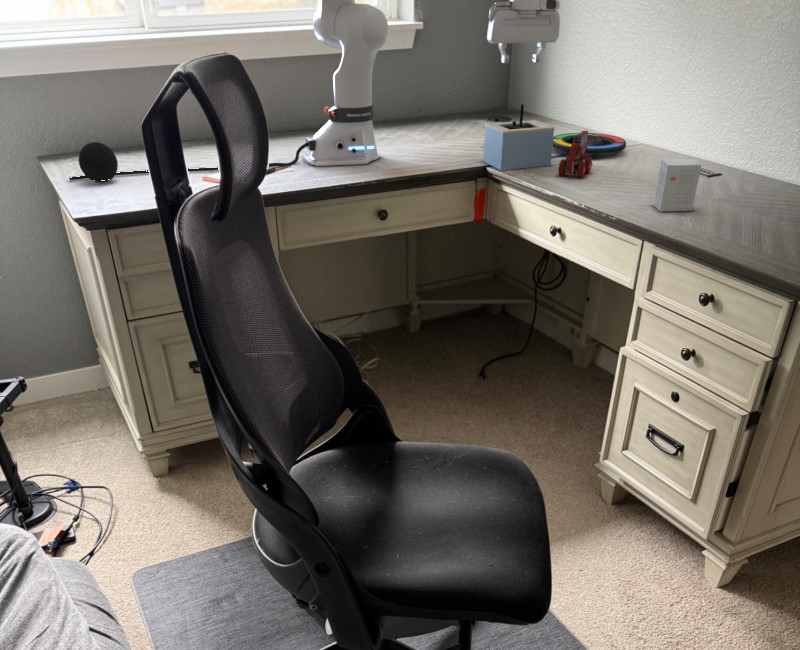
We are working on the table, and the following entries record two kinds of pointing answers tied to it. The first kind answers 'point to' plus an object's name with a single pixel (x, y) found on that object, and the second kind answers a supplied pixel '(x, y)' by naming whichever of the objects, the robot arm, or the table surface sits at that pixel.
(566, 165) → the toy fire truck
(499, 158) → the tissue box
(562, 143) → the electronic game
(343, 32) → the robot arm
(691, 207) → the small box
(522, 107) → the walkie-talkie
